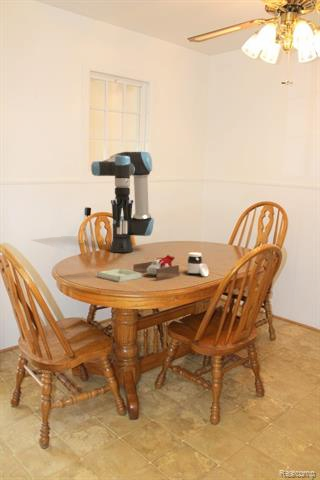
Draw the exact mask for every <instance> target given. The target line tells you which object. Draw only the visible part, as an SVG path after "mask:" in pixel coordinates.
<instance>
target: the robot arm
mask: <svg viewBox="0 0 320 480" xmlns="http://www.w3.org/2000/svg"><path fill="white" fill-rule="evenodd" d="M90 167H91V168H90V170H91V171H90V172H91V175H93V176H94V177H114V186H115V188H114V195H115V197H114V199H111V200H110V203H111V210H112V211H111V212H112V213H111V214H112V240H111V244H110V247H109V251H110V252H112V253H131V252H134V247H133V243H132V240H131V236H140V237H141V236H142V237H147V236H151V235H152V233H153V228H154V221H155V220H154V217H152V215H151V213H150V212H149V183H148V182H149V181H148V177H149V176H150V174H151V172H152V171H153V161H152V156H151V154H150V153H149V152H146V151H123V152H117V153H115V154H113V155H111V156H110V157H109V158H107V159H104V160H102V161H101V160H99V161H98V160H97V161H92V162H91V166H90ZM131 176H132V177H133V191H134V200H133V199H130V194H131V188H130V186H131ZM133 205H134V212H135V213H134V214H133V215H132V212H133ZM122 214H123V215H122Z"/></svg>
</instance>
